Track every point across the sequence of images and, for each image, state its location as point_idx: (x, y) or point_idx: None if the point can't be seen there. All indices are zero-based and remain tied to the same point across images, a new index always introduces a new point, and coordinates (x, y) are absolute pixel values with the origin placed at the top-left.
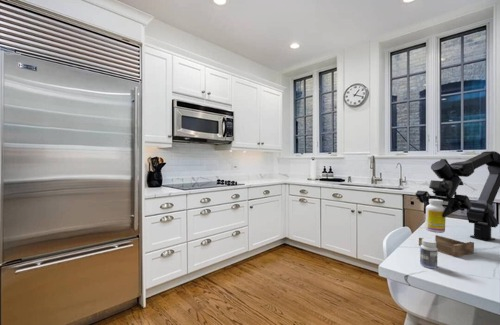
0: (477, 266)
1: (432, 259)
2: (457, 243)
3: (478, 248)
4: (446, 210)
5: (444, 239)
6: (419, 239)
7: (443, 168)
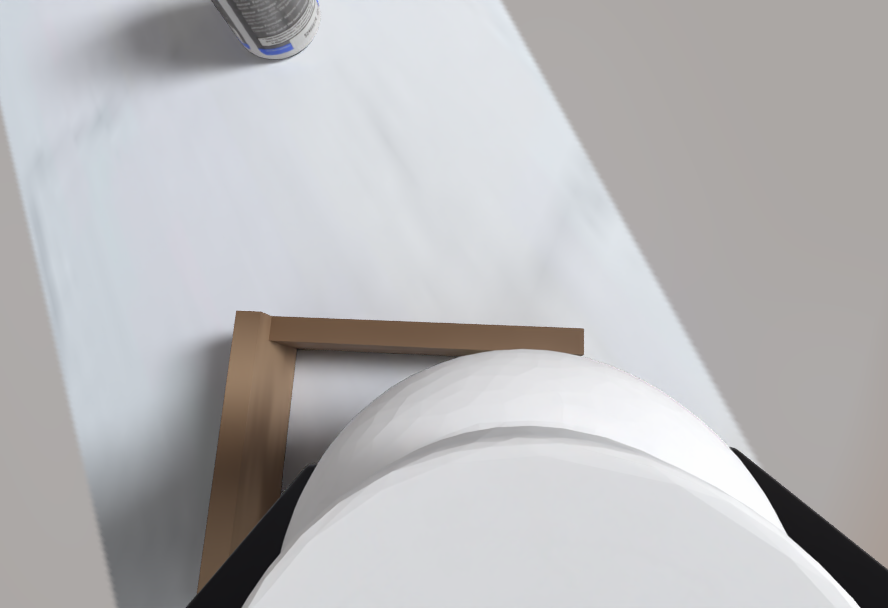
0: (128, 282)
1: None
2: None
3: None
4: (220, 587)
5: None
6: (574, 331)
7: None
